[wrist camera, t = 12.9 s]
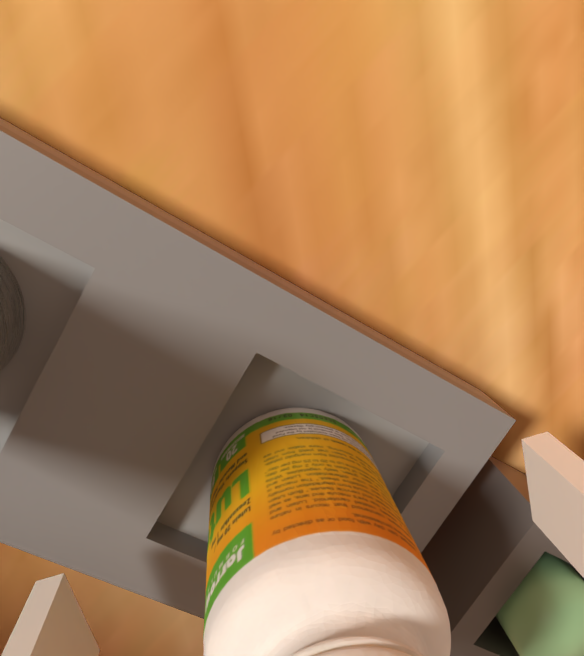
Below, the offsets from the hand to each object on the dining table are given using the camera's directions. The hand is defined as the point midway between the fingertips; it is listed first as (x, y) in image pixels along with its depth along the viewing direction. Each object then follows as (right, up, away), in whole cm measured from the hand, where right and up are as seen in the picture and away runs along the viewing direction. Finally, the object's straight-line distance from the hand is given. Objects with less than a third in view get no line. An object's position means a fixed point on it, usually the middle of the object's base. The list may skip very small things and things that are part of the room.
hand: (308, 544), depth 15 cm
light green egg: (+8, -3, +6) cm, 10 cm away
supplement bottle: (-1, +1, +3) cm, 4 cm away
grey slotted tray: (-6, +4, +3) cm, 8 cm away
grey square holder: (+8, -3, +7) cm, 11 cm away
